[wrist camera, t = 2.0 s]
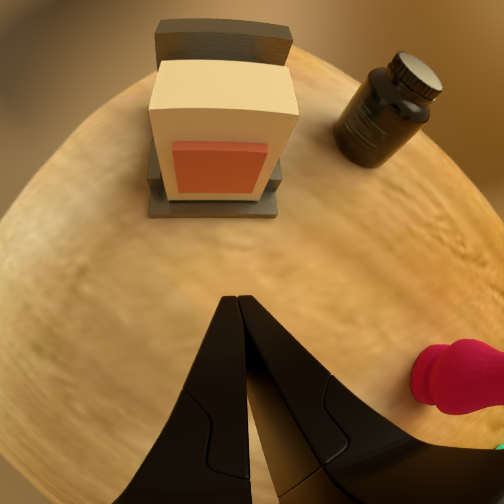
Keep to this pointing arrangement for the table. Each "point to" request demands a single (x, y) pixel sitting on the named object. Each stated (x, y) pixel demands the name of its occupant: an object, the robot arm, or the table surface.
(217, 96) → the cream block orange label
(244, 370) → the robot arm
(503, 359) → the pepper mill
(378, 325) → the table surface
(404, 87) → the supplement bottle
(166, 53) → the press stand
